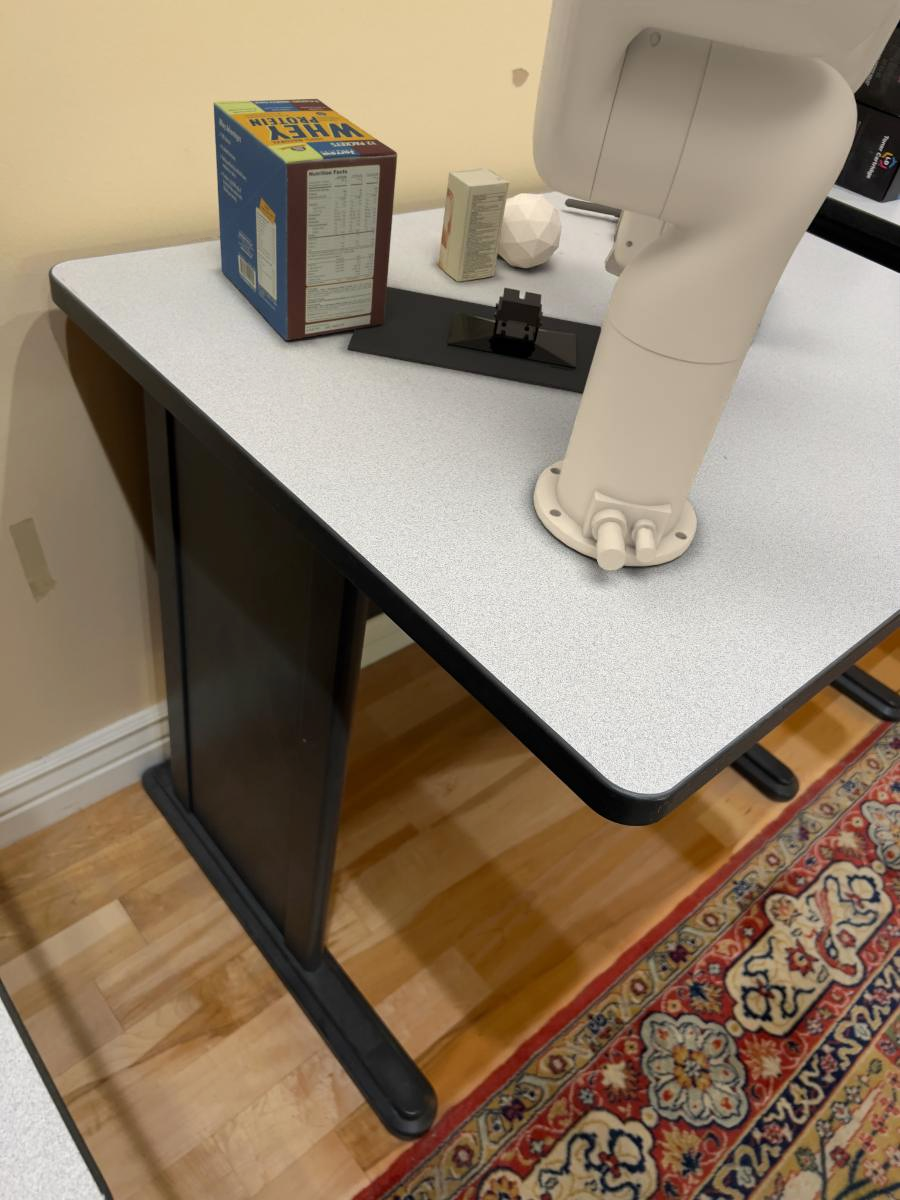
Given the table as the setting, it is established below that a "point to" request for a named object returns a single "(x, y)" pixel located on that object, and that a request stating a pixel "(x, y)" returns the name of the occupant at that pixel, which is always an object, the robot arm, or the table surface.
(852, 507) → the table surface
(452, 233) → the printed cream carton
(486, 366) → the desk mat
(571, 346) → the build plate
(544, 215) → the geometric ball
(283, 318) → the protein box
